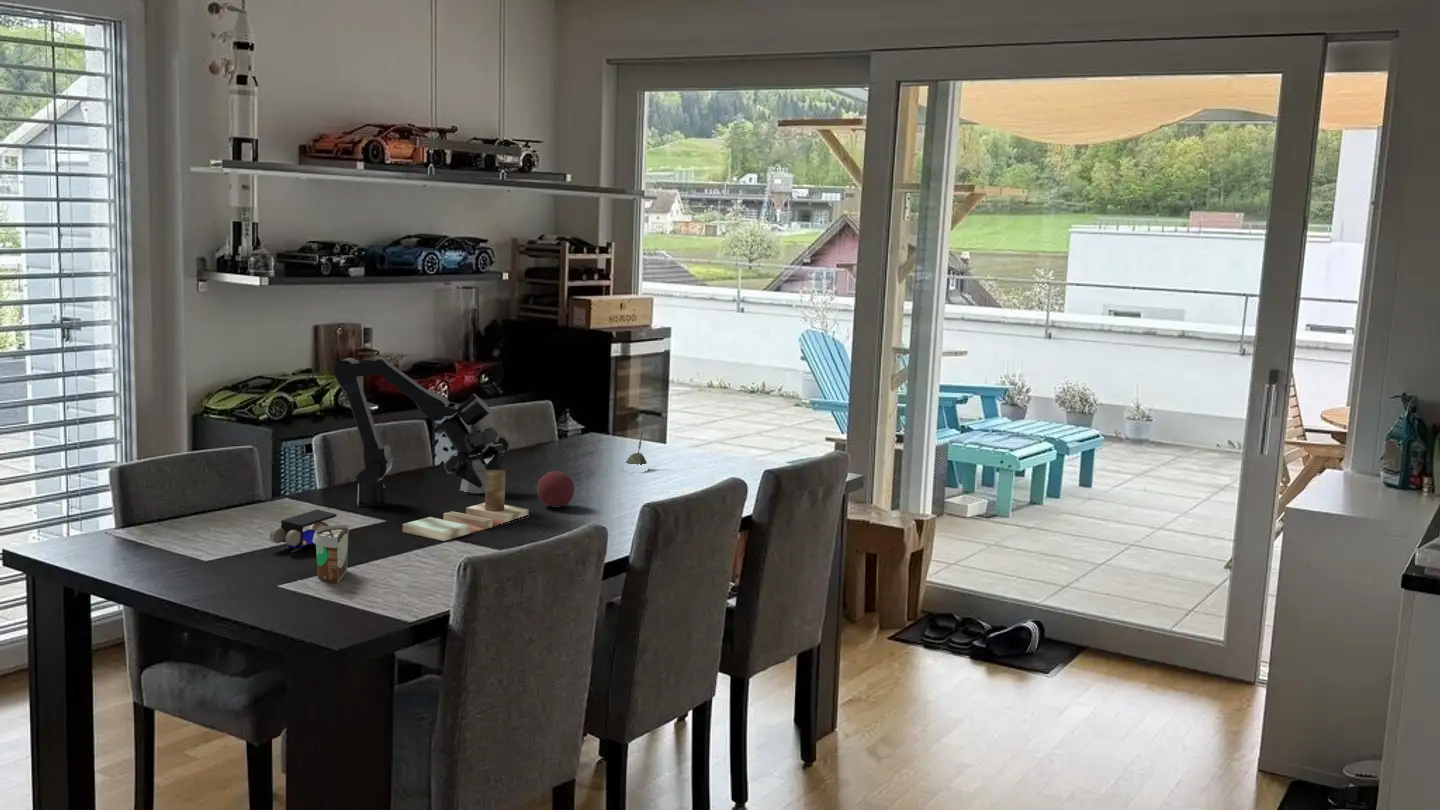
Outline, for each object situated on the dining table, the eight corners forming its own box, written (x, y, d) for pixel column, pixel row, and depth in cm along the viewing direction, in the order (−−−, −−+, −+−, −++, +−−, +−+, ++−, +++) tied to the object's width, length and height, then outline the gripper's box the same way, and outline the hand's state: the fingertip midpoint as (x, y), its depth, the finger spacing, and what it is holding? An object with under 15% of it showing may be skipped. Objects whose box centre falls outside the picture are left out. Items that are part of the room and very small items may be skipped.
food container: (319, 568, 277) (319, 523, 276) (348, 569, 278) (349, 524, 276) (305, 584, 265) (306, 537, 264) (336, 585, 266) (336, 538, 264)
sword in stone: (640, 474, 399) (642, 437, 398) (618, 471, 402) (620, 434, 401) (654, 469, 409) (655, 433, 407) (632, 466, 411) (633, 430, 410)
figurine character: (292, 562, 286) (339, 541, 299) (290, 529, 284) (337, 510, 297) (269, 557, 288) (317, 536, 302) (267, 525, 287) (314, 506, 300)
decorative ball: (558, 501, 354) (559, 466, 353) (580, 509, 347) (582, 472, 346) (529, 505, 347) (530, 469, 346) (551, 513, 340) (552, 476, 339)
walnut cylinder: (486, 511, 329) (487, 473, 328) (483, 507, 334) (484, 469, 332) (505, 511, 331) (507, 473, 329) (502, 506, 335) (503, 469, 334)
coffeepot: (456, 496, 354) (457, 432, 351) (449, 488, 362) (451, 426, 360) (510, 494, 360) (512, 431, 357) (502, 487, 368) (505, 426, 366)
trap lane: (488, 509, 341) (489, 501, 340) (528, 516, 335) (528, 508, 334) (402, 532, 312) (402, 523, 311) (443, 540, 306) (444, 532, 305)
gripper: (454, 422, 324) (488, 470, 320) (500, 414, 340) (532, 460, 337) (429, 448, 328) (462, 496, 325) (476, 439, 345) (507, 485, 341)
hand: (492, 484), depth 332 cm, fingers open, 9 cm apart
